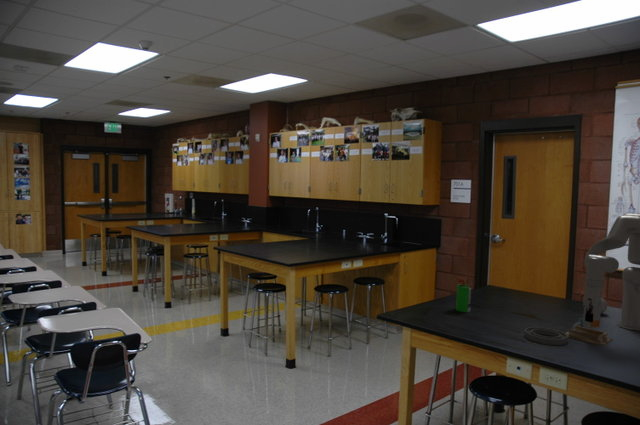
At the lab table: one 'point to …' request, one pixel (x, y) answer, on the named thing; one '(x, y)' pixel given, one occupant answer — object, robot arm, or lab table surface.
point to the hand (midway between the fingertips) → (591, 320)
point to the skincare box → (595, 317)
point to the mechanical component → (537, 333)
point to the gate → (578, 324)
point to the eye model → (603, 305)
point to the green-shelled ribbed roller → (463, 297)
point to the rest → (589, 335)
